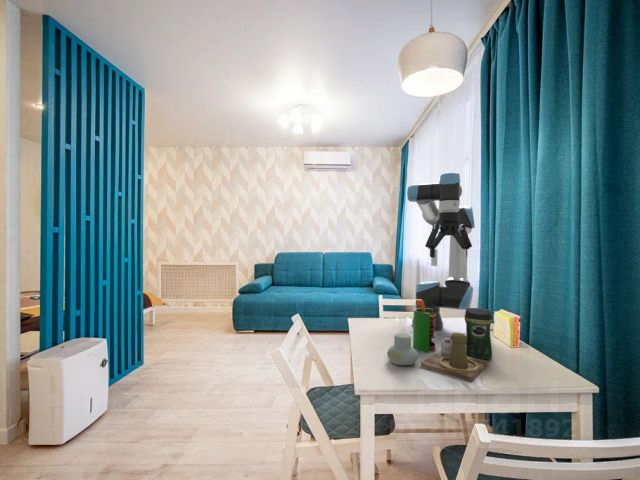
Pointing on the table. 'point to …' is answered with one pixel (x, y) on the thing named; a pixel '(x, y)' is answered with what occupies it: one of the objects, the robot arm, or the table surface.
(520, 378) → the table surface
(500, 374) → the table surface
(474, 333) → the coffee jar
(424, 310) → the motor
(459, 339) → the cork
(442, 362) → the carrier board
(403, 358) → the air freshener
